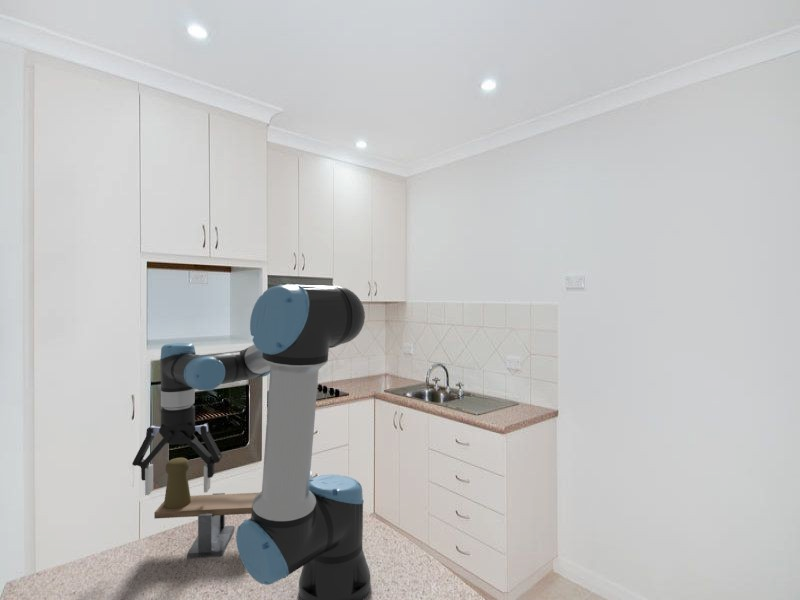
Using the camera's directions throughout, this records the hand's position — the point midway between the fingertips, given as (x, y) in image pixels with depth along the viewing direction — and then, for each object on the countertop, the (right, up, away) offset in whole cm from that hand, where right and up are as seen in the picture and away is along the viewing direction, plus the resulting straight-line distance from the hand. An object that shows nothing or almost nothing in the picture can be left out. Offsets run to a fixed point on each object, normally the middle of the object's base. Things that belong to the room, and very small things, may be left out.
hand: (178, 491), depth 110 cm
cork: (0, -3, 0) cm, 3 cm away
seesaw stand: (+8, -13, +1) cm, 16 cm away
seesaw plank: (+8, -4, +1) cm, 9 cm away
